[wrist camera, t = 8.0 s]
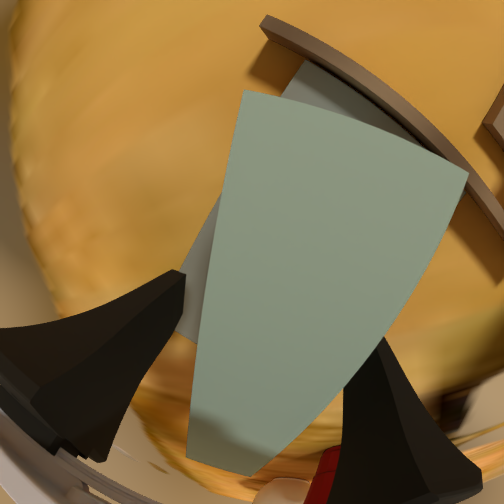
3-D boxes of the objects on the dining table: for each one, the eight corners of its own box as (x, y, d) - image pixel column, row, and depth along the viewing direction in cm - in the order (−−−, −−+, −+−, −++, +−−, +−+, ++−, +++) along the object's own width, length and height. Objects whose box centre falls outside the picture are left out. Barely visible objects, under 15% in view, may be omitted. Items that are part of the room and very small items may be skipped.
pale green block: (370, 131, 10) (469, 172, 3) (279, 361, 17) (250, 476, 10) (294, 107, 10) (243, 89, 3) (230, 346, 17) (185, 457, 10)
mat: (458, 187, 10) (465, 192, 9) (270, 374, 19) (268, 383, 18) (306, 63, 10) (305, 59, 9) (161, 310, 18) (155, 318, 17)
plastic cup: (328, 427, 21) (309, 542, 11) (411, 438, 21) (411, 534, 10) (285, 457, 27) (264, 539, 17) (358, 468, 26) (349, 543, 16)
